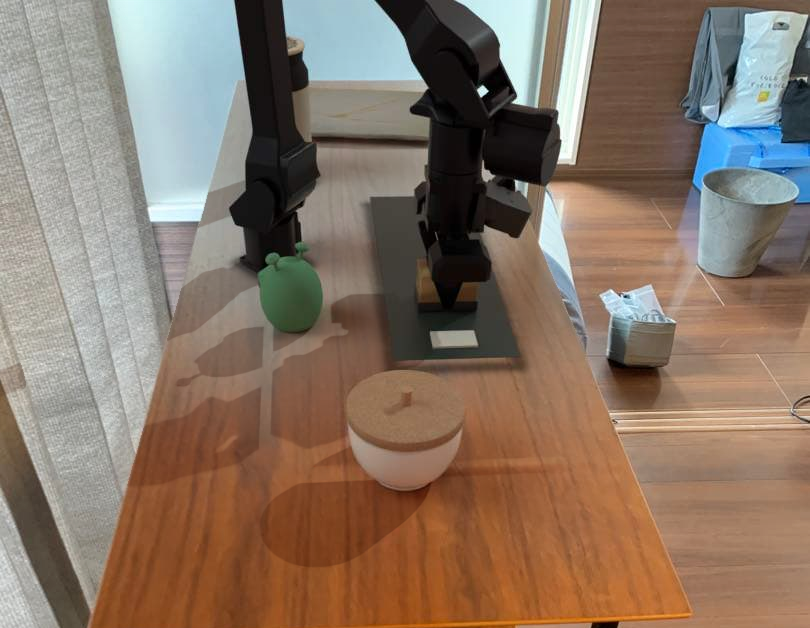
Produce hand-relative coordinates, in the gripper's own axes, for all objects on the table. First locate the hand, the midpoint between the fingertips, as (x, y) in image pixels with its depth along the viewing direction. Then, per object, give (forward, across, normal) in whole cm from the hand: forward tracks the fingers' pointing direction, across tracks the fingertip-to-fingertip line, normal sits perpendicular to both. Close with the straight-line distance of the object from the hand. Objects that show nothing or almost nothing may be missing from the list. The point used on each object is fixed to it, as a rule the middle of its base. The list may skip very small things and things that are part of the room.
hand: (445, 298), depth 97 cm
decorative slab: (+2, +60, +7) cm, 61 cm away
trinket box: (+2, -28, +8) cm, 29 cm away
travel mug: (+2, +37, +19) cm, 42 cm away
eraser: (0, 0, 0) cm, 0 cm away
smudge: (0, -8, 0) cm, 8 cm away
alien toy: (+2, -2, +18) cm, 18 cm away
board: (+2, +9, 0) cm, 9 cm away
